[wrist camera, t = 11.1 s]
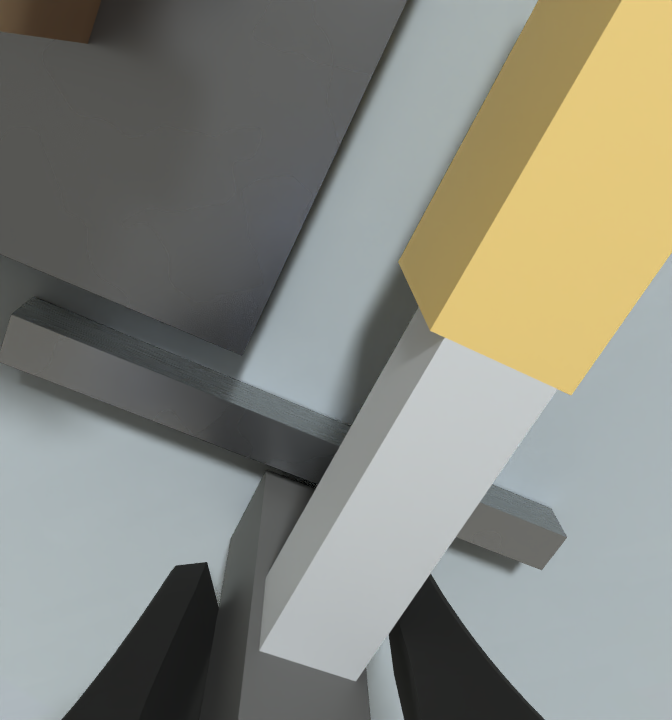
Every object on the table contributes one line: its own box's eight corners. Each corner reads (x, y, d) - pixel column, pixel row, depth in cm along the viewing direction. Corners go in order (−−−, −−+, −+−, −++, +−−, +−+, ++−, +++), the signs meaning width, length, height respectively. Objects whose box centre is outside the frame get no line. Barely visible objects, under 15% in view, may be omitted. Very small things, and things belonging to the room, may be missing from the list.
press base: (1005, -100, 10) (1074, -118, 9) (527, 540, 15) (541, 570, 14) (-438, -1237, 6) (-571, -1471, 5) (-447, 156, 11) (-516, 164, 10)
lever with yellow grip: (680, -52, 10) (1151, -214, 4) (312, 567, 15) (312, 867, 9) (574, -122, 10) (945, -400, 4) (230, 538, 14) (179, 834, 9)
